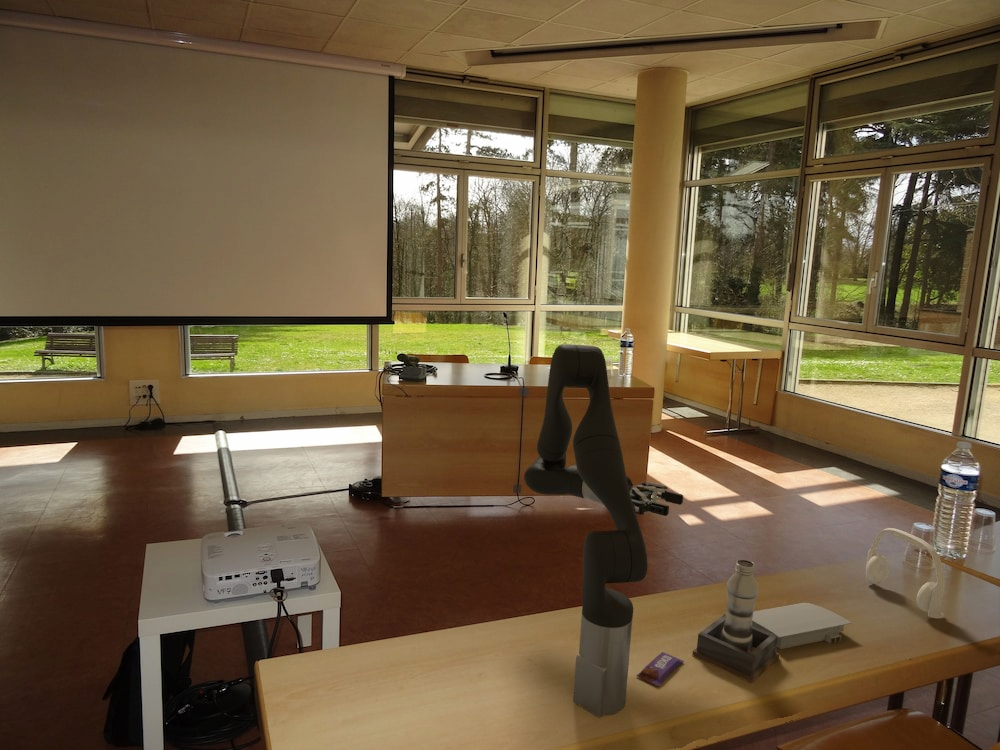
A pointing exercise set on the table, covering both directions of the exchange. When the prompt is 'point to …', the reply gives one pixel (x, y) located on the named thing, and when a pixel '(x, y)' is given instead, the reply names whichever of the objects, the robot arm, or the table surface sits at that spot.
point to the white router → (799, 624)
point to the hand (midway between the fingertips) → (675, 505)
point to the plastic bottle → (740, 606)
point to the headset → (930, 591)
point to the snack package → (659, 668)
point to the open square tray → (737, 651)
